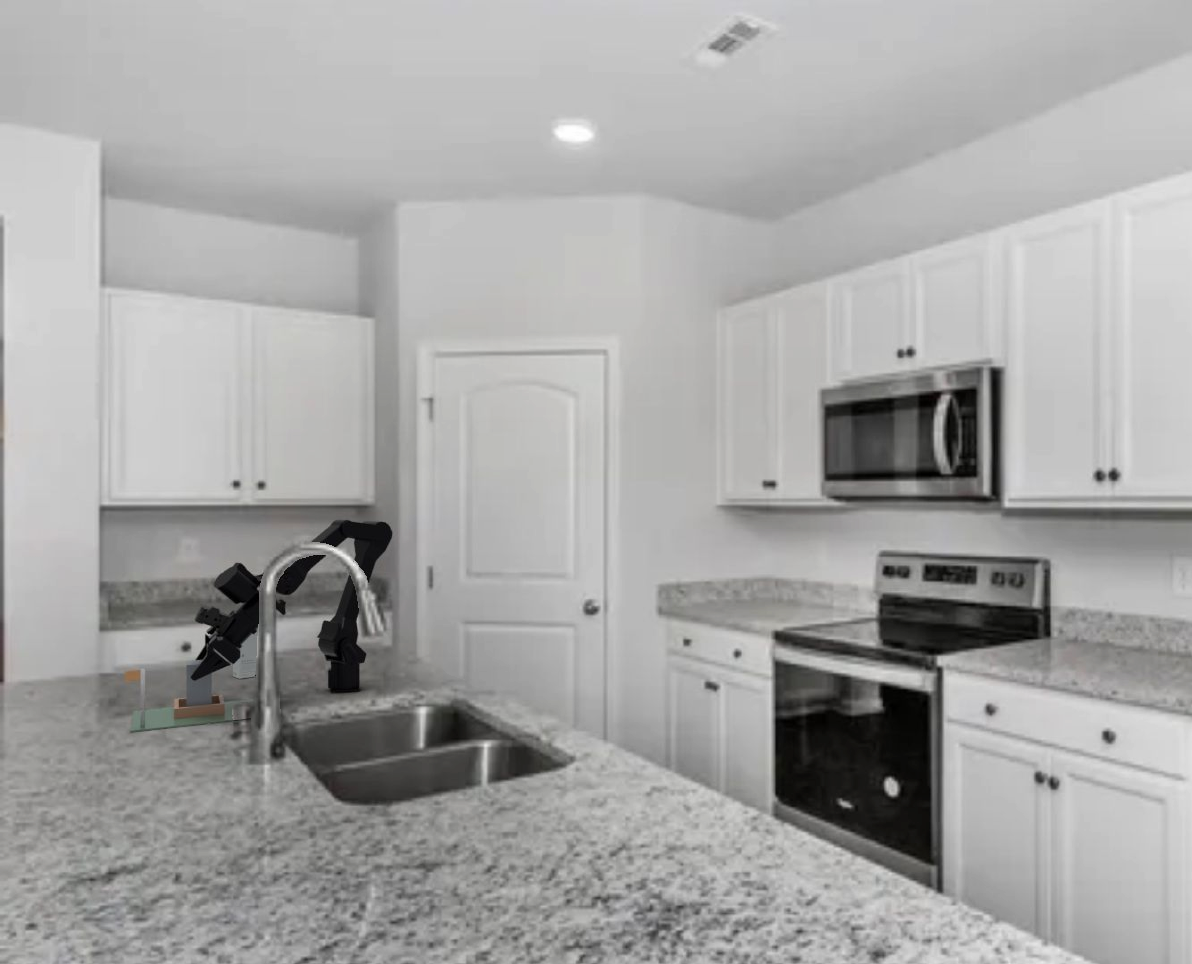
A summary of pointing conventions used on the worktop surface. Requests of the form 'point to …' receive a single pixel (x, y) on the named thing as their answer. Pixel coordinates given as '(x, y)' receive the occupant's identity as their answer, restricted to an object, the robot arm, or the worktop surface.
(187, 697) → the grey block
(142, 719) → the green base plate
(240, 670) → the skincare box
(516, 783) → the worktop surface
